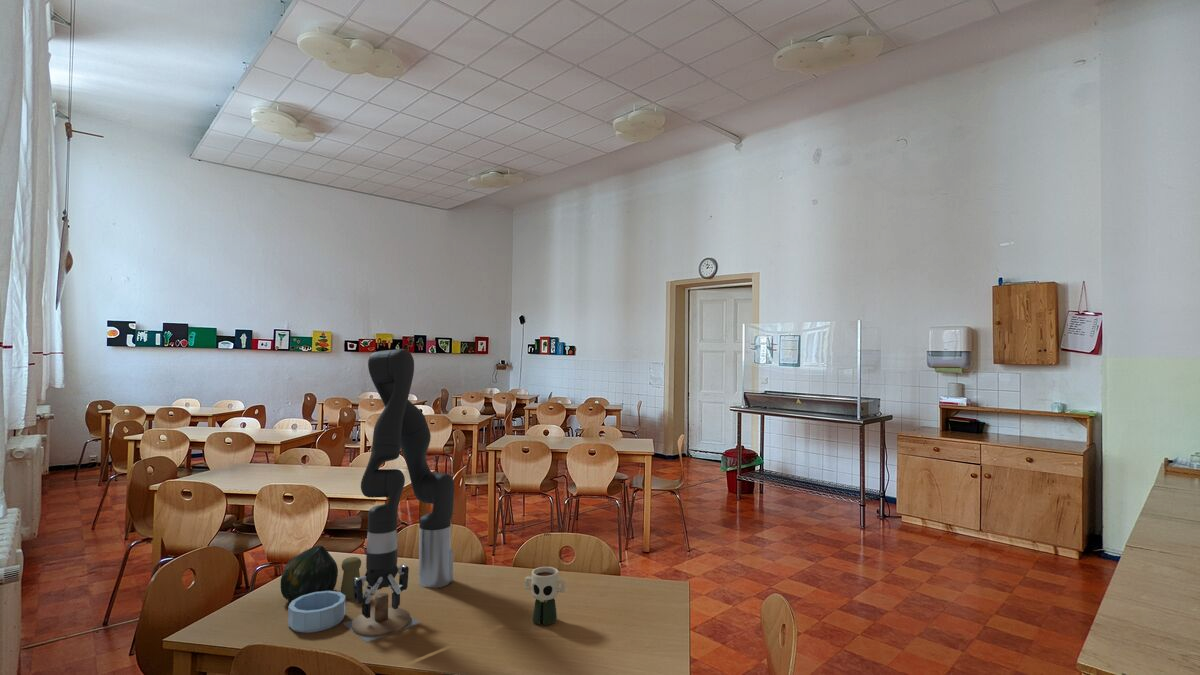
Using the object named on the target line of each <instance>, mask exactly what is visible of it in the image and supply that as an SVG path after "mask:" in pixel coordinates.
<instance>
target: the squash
mask: <svg viewBox="0 0 1200 675" xmlns="http://www.w3.org/2000/svg"><path fill="white" fill-rule="evenodd" d="M338 575H339V568H338V565H337V562H336V560H335V559H334V558H333V556H332V555H331V554H330V553H329V551H328V550H327V549H326V547H325V546H324V545H321V544H317V545H315V546H313V547H310V548H308V549H306V550H304V551H303V552H301V553H299V554H298V555H296V556H294V557H292V558H291V559H290V560H289V561H288V562H287V563H286V566H285V567H284V569H283V573H282V575H281V577H280V591H281V595H282V596H283V598H285V599H286V600H287V601H293V600H295V599H296V598H298V597H300V596H303V595H306V594H310V593H313V592H321V591H334V589H335V588H336V585H337V582H338V581H337V580H338Z"/></svg>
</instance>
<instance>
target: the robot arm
mask: <svg viewBox="0 0 1200 675" xmlns="http://www.w3.org/2000/svg"><path fill="white" fill-rule="evenodd" d="M367 368H368V373H369V375H370V379H371V381H372V383H373V385H374V387H375V389H376V391H377V393H378V395H379V397H380V399H381V401H382V403H383V405H384V408H383V410H382V411H381V413H380V415H379V416H378V418H377V419H376V420H377V421H376V422H375V425H374V428H373V433H372V434H373V435H372V443H371V444H372V445H371V446H372V447H371V452H370V455H369V459H368V463H367V465H366V468H365V471H364V473H363V476H362V478H361V481H360V491H361V493H362V494H363V496H365V497H366V498H371V499H372V498H388V502H386V503H383V504H379V505H375V506H372V507H371V508H369V510H368V512H367V536H366V550H365V551H366V552H365V553H366V556H365V557H366V560H365V564H366V565H365V567H366V568H365V569H366V571H365V575H363V576H360V577H359V578H358V577H355V578H354V579H353V586H354V599H353V600H354V601H355V602H356V603H358V604H361V614H362V615H363V616H364V617H366V618H370V610H371V608H372V607H371V600H372V598H373V596H375V594H376V593H377V591H378V590H382V589H383V588H388V587H389V588H390V590H391V591H392V592H391V607H392V608H394V609H398V608H399V606H400V604H401V593H402V592H403V591H405V590H407V589H408V587H409V586H408V585H409V584H408V583H409V570H410V568H409V566H407V565H406V564H400V566H398V547H399V546H398V545H399V541H398V540H399V538H398V530H397V529H398V510H399V509H398V508H399V504H400V500H401V497H402V494H403V490H404V487H405V483H406V478H405V475H404V473H403V471H401V470H400V469H398V468H390V469H389V468H388V469H386V468H385V469H384V468H383V469H380V467H381V466H382V465H383V464H384V463H386V462H391V461H394V460H397V459H399V457H400V454H401V452H402V455H403V458H404V461H405V464H406V468H407V471H408V475H409V479H410V483H411V484H410V485H411V486H412V487H411V488H412V491H413V494H414V496H415V498H416V499H417V500H418V501H419V502H422V503H424V504H431V505H432V511H431V512H429V513H427V514H424V515H422V516H421V517H420V518H419V523H418V525H419V528H418V529H419V530H418V531H419V532H418V533H419V536H418V585H420V587H423V588H430V589H431V588H437V589H440V588H443V587H446V586H447V585H448V586H449V584H450V583H452V582H454V550H453V549H452V548H451V541H452V540H451V537H452V536H451V535H452V534H451V533H452V531H451V530H452V529H451V528H452V527H451V526H452V518H453V513H454V502H455V481H454V478H453V477H452V475H450V474H449V473H443V472H433V471H431V469H430V468H429V465H428V461H427V457H426V456H427V452H428V449H429V446H430V443H431V437H432V436H431V430H430V428H429V425H428V422H427V419H426V416H425V414H424V413H423V412H422V411H421V410H420V409H419V407H417V406H416V405H415V404H414V403H413V402H411V401H410V400H409V398H410V397H409V396H410V392H411V388H412V383H413V379H414V373H415V361H414V356H413V355H412V353H411V351H409V350H408V349H405V348H397V349H387V350H379V351H375V352H372V353H371V354H370V355H369V357H368V362H367ZM397 575H399V576H398V577H399V579H398V582H397V581H396V579H395V578H396V577H397ZM365 582H367V584H366V586H365ZM364 586H365V588H364V591H363V587H364Z"/></svg>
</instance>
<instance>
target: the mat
mask: <svg viewBox="0 0 1200 675" xmlns="http://www.w3.org/2000/svg"><path fill="white" fill-rule="evenodd" d="M353 620H354V619H352V620H348V621H345V622H343V623H342V624H343V625H344V626H345V627H346V628H347V629H349V630H350V631H352V632H353V630H352V622H353ZM419 624H421V622H420V621H417V620H416V619H415V618H413V617H411V616H410V622H409V624H408V625H407V626H406V627H404V628H403V629H401V630H399V631H397V632H394V633H395V634H396V633H398V632H400V631H403V630H406V629H408V628H411V627H414V626H417V625H419ZM394 633H391V634H394ZM354 634H355V635H356V636H358V637H359V638H360V639H361V640H363V641H364V642H365V643H369V642H372V641H375V640H378V639H381V638H383V637H386V636H389V635H391V634H387V635H382V636H362V635H358V634H356V633H354Z"/></svg>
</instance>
